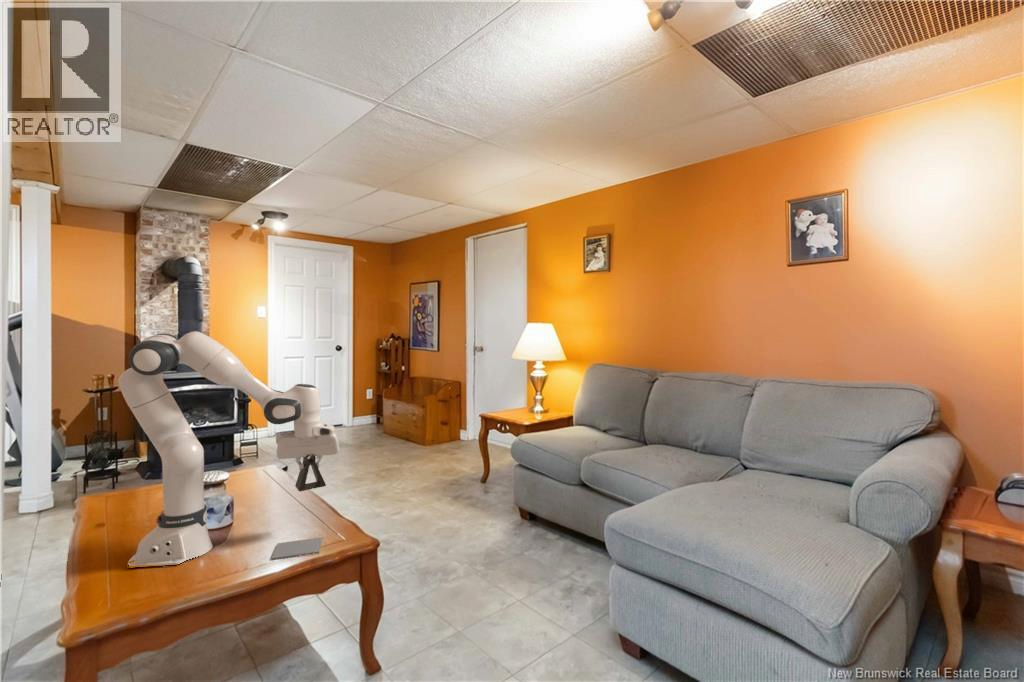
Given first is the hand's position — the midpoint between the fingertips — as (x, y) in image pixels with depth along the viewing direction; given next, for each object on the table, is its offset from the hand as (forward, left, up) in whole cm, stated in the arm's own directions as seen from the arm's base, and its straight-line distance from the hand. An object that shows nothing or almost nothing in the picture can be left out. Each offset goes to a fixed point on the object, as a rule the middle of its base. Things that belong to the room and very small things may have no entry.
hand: (309, 468), depth 172 cm
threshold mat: (-3, -12, -23) cm, 26 cm away
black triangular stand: (0, 0, -7) cm, 7 cm away
